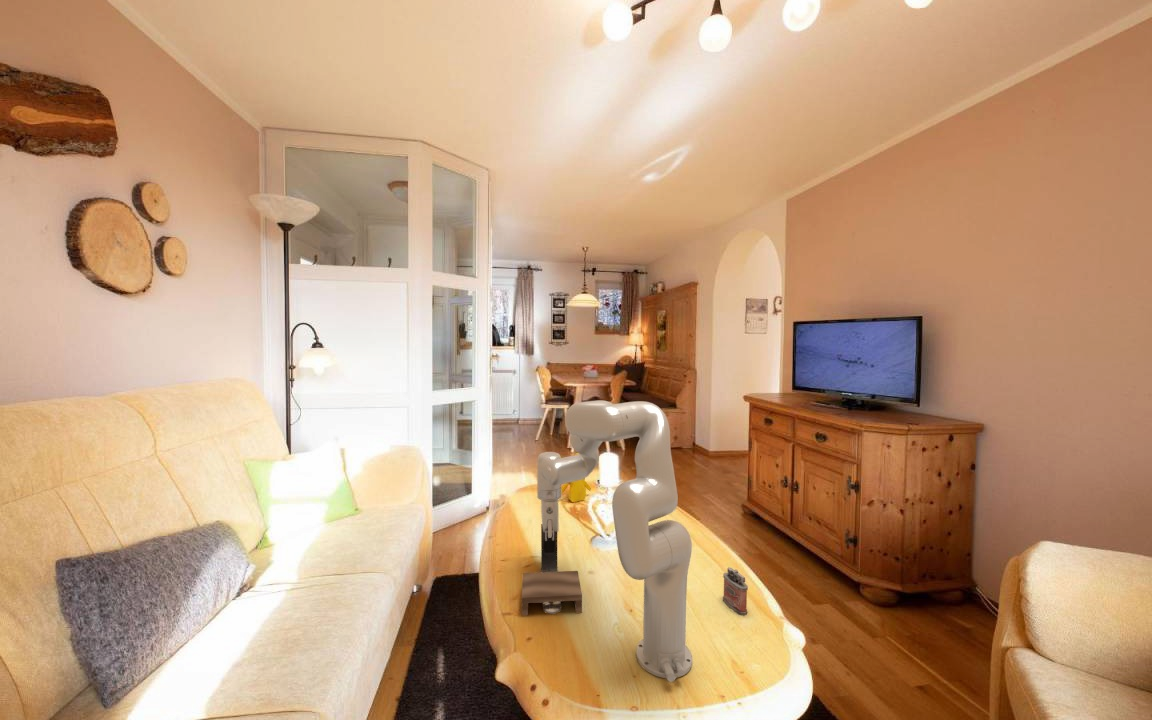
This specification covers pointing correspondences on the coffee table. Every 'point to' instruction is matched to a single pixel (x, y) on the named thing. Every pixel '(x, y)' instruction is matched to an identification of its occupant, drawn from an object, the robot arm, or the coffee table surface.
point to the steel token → (552, 607)
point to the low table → (551, 588)
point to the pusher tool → (548, 555)
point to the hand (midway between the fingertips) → (549, 548)
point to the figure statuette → (576, 489)
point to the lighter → (735, 591)
